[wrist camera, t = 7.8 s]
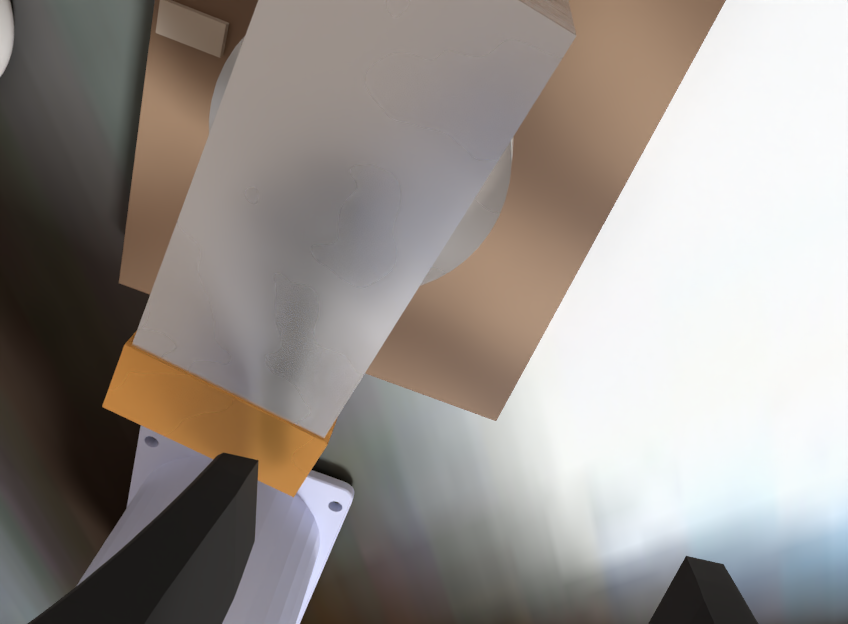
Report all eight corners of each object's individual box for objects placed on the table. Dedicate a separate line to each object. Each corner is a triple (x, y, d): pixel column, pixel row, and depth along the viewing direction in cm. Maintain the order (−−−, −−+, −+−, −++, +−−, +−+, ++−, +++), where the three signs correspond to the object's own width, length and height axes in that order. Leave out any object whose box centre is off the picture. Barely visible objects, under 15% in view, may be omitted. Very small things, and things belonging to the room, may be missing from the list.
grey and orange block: (619, 14, 13) (660, 88, 9) (393, 361, 18) (345, 522, 14) (326, -169, 12) (206, -191, 8) (172, 247, 17) (43, 378, 13)
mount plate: (498, 390, 23) (491, 479, 20) (142, 259, 22) (72, 328, 19) (797, -173, 15) (874, -185, 11) (241, -415, 14) (146, -507, 11)
